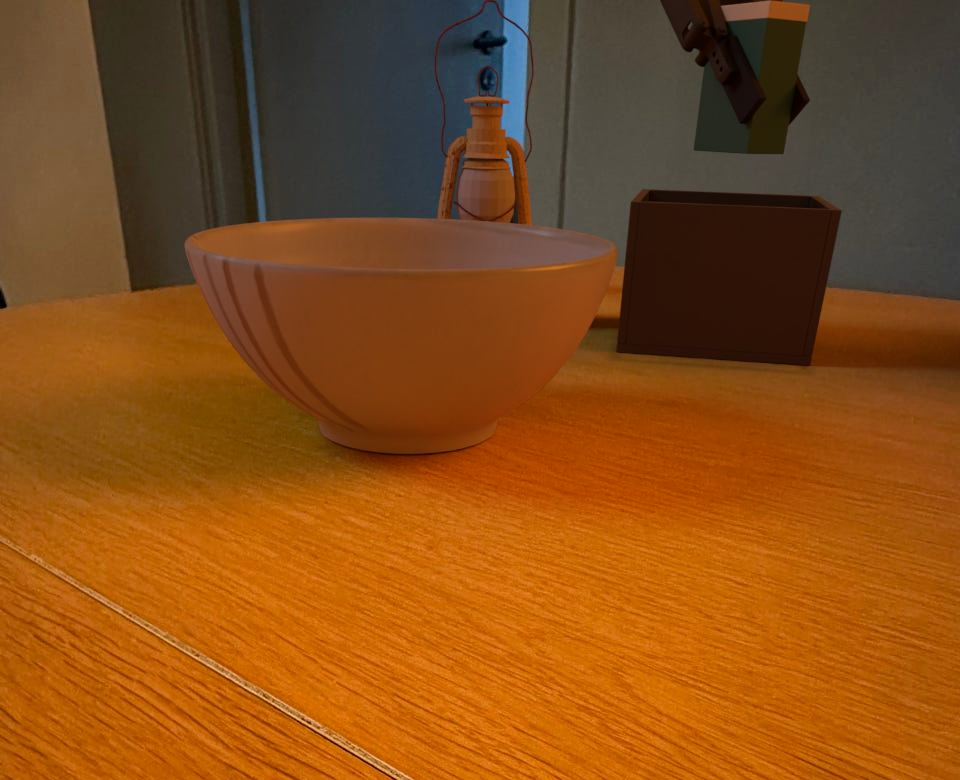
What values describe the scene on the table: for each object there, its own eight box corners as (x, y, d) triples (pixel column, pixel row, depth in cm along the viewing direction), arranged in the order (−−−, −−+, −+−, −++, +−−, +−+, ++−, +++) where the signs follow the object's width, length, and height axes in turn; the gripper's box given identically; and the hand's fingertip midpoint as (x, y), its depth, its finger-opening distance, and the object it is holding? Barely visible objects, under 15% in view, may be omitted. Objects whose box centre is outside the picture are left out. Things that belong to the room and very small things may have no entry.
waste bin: (793, 328, 96) (818, 195, 90) (810, 365, 81) (842, 210, 75) (629, 317, 99) (642, 189, 93) (616, 352, 84) (630, 201, 78)
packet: (729, 150, 86) (749, 10, 80) (784, 154, 80) (810, 4, 75) (692, 150, 84) (710, 6, 78) (747, 153, 78) (770, 0, 73)
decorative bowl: (137, 478, 53) (97, 257, 47) (286, 370, 76) (272, 211, 69) (594, 512, 50) (616, 280, 44) (604, 388, 73) (620, 225, 67)
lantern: (437, 296, 108) (436, -9, 93) (433, 283, 117) (432, 2, 102) (535, 297, 109) (550, -4, 94) (524, 284, 118) (536, 6, 103)
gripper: (722, -50, 89) (815, 146, 85) (577, -71, 81) (672, 144, 77) (772, -130, 82) (876, 79, 78) (619, -161, 74) (726, 70, 70)
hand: (775, 111), depth 78 cm, fingers closed on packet, 4 cm apart
